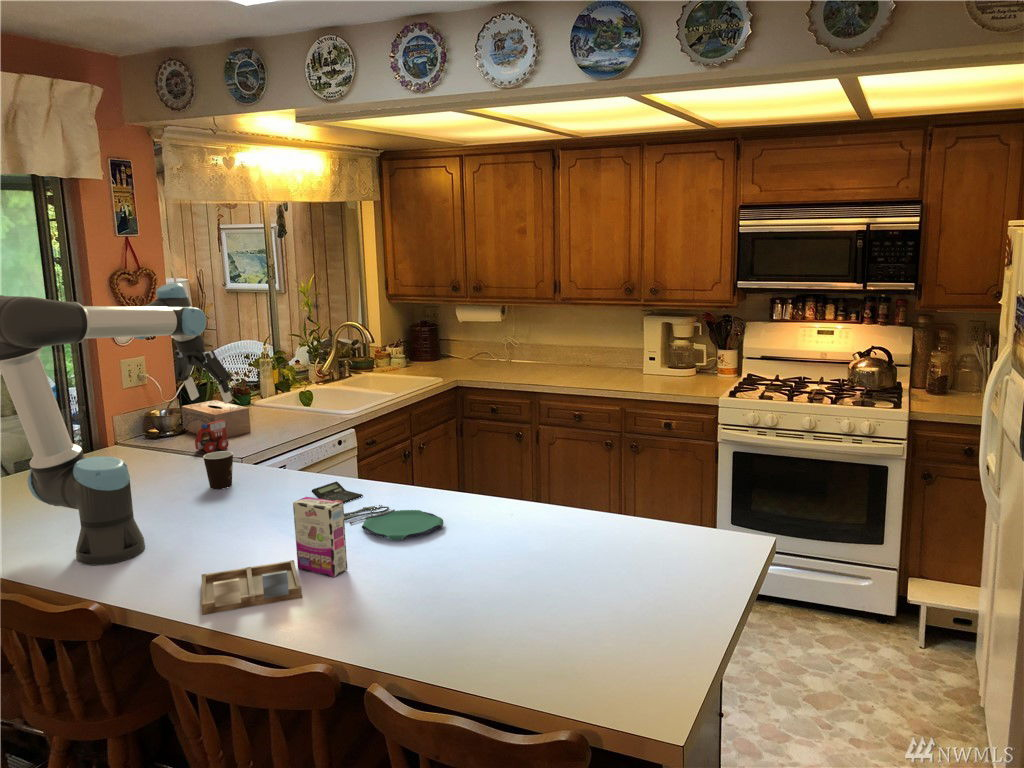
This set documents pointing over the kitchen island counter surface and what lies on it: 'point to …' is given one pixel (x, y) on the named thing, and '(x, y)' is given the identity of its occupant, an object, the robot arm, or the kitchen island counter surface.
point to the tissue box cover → (216, 416)
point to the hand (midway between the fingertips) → (211, 399)
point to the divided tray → (249, 587)
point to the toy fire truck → (212, 436)
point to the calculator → (334, 493)
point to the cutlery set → (397, 522)
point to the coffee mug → (219, 469)
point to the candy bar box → (320, 536)
